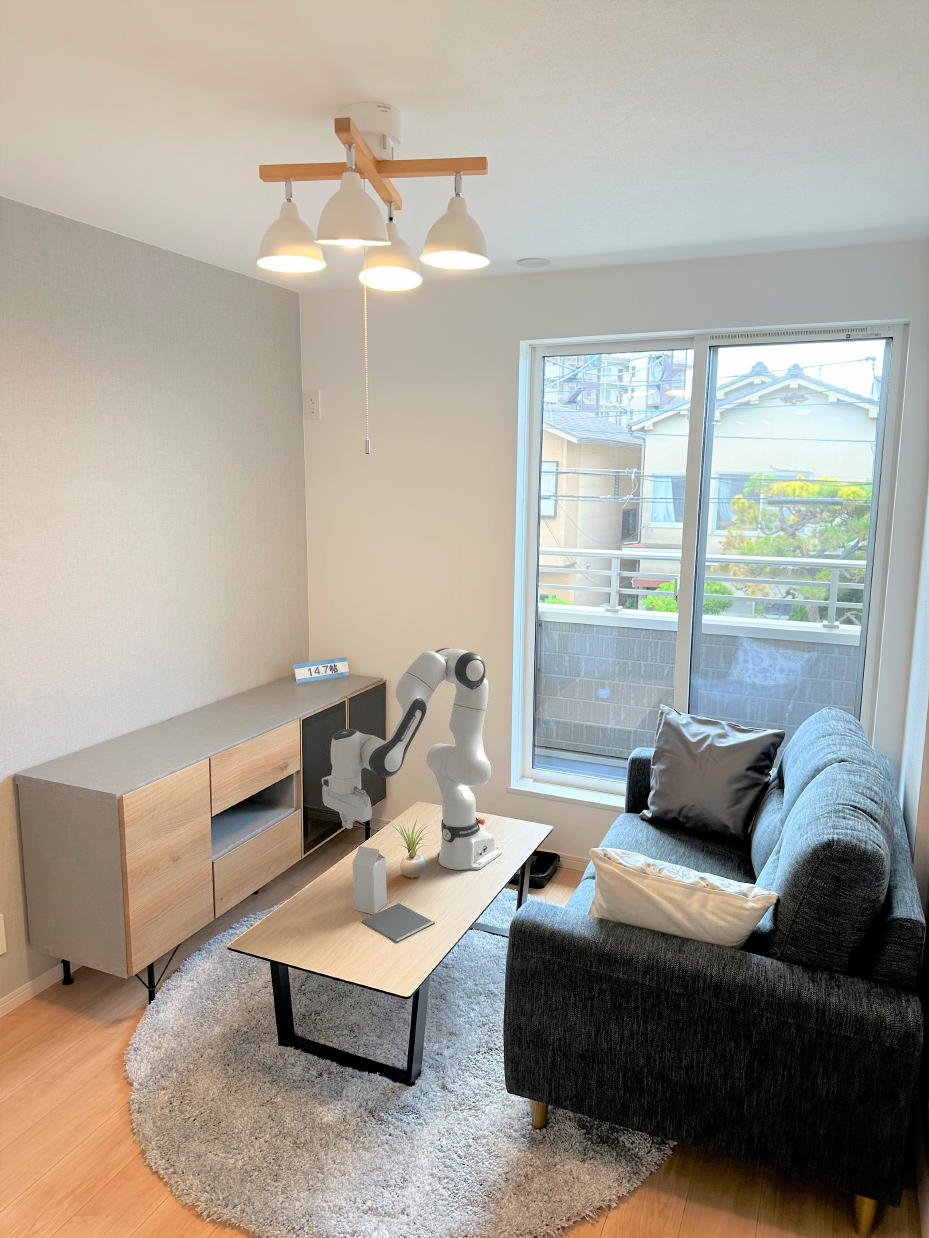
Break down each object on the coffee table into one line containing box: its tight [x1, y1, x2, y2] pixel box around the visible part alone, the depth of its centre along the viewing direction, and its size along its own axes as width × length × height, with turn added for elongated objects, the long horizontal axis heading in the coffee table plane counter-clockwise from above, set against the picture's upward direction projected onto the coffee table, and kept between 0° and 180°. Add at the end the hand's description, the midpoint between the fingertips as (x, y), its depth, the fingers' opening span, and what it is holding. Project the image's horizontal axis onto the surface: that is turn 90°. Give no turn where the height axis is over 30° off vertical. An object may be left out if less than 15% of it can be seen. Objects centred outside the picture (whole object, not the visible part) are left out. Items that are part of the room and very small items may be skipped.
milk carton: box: [352, 845, 388, 915], centre depth 246 cm, size 7×7×19 cm
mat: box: [361, 902, 435, 944], centre depth 239 cm, size 14×16×1 cm
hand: (347, 827), depth 251 cm, fingers closed
